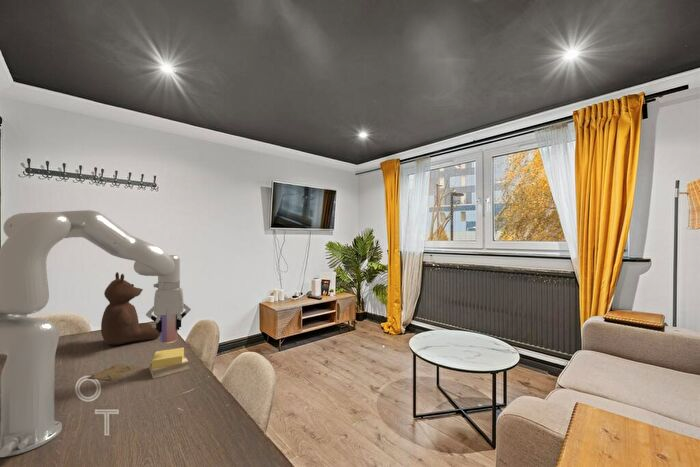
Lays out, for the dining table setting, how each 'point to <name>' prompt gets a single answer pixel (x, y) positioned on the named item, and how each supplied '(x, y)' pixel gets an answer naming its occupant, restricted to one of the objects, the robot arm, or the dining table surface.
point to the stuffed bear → (123, 315)
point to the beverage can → (168, 327)
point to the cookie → (114, 372)
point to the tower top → (168, 357)
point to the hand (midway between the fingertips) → (168, 330)
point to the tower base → (168, 368)
